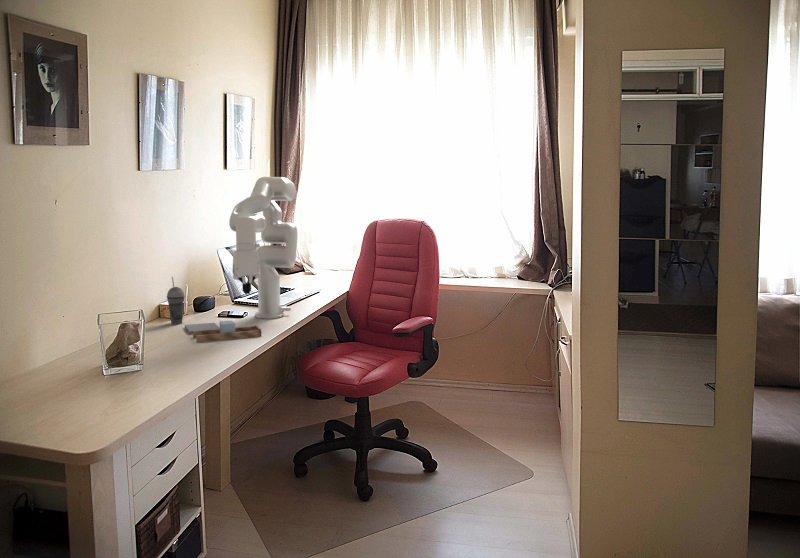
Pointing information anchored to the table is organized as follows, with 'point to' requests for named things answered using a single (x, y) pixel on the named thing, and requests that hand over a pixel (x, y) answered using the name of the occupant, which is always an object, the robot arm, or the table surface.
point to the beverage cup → (175, 304)
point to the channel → (227, 334)
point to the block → (227, 326)
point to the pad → (200, 327)
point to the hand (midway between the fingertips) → (246, 293)
